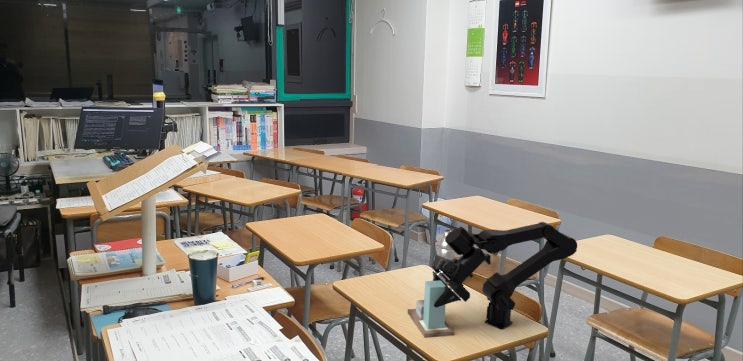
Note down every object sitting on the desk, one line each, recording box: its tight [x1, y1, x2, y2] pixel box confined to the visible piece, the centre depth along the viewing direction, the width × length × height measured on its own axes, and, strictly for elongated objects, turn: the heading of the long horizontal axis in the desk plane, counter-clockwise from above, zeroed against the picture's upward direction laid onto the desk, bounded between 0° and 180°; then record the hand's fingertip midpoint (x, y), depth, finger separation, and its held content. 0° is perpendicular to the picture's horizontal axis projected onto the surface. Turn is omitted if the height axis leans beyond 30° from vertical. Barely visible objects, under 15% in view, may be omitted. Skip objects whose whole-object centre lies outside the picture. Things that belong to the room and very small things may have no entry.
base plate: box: [407, 299, 454, 338], centre depth 163 cm, size 9×17×5 cm, turn 13°
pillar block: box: [423, 280, 446, 329], centre depth 159 cm, size 5×5×13 cm
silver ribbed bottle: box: [438, 229, 456, 285], centre depth 196 cm, size 6×7×20 cm
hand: (430, 301), depth 159 cm, fingers open, 7 cm apart
